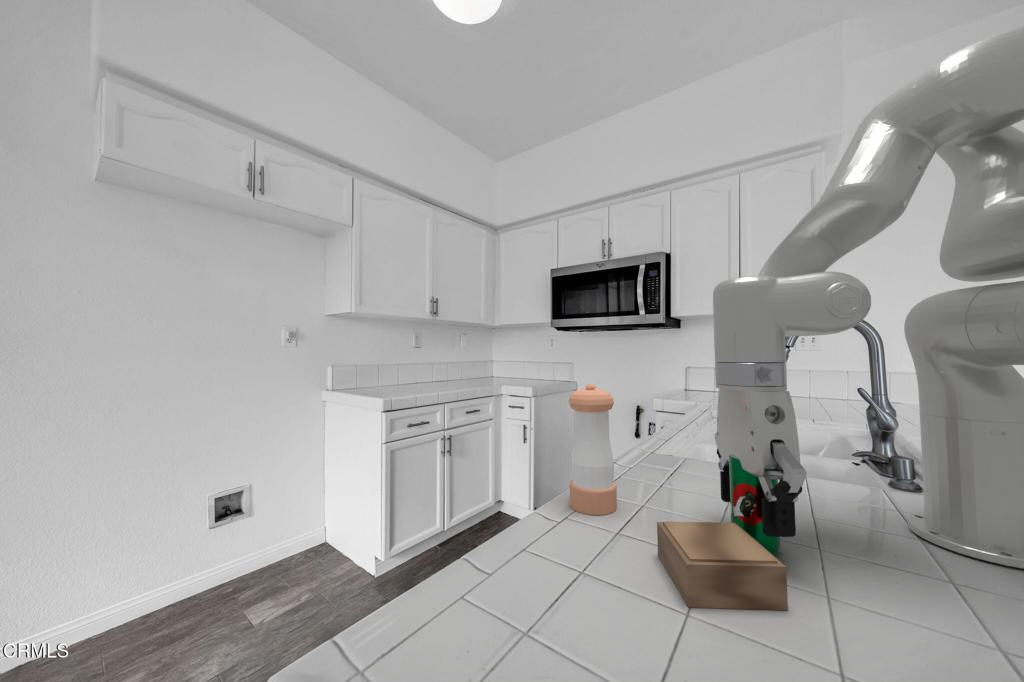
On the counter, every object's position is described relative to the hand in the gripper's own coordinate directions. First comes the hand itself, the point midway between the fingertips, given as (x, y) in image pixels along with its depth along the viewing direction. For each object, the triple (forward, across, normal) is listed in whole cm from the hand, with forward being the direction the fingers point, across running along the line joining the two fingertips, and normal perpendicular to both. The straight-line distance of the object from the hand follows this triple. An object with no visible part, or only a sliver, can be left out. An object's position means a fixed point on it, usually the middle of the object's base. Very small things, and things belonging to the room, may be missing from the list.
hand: (754, 516), depth 46 cm
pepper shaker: (+4, +12, +18) cm, 22 cm away
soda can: (+4, 0, 0) cm, 4 cm away
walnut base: (+4, -7, +8) cm, 11 cm away
